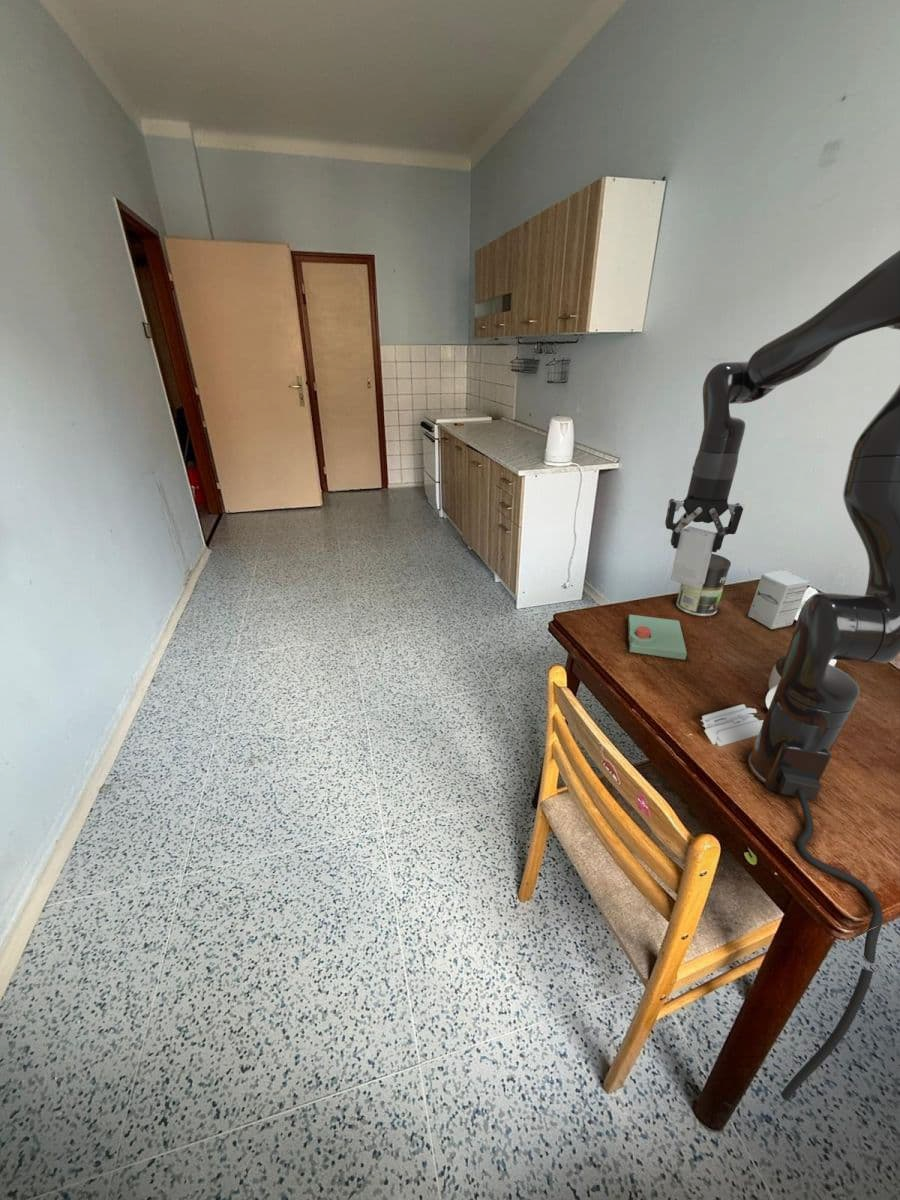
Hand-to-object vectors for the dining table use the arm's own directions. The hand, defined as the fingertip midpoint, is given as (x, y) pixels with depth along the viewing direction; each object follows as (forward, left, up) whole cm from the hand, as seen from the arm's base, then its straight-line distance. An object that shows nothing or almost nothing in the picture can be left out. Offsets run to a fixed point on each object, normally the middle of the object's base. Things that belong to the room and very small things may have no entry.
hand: (694, 549), depth 102 cm
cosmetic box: (0, 0, -8) cm, 8 cm away
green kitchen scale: (0, +4, -24) cm, 25 cm away
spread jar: (-19, -20, -24) cm, 37 cm away
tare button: (-4, +7, -21) cm, 23 cm away
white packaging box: (+17, -25, -24) cm, 39 cm away
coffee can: (+20, -8, -24) cm, 33 cm away
